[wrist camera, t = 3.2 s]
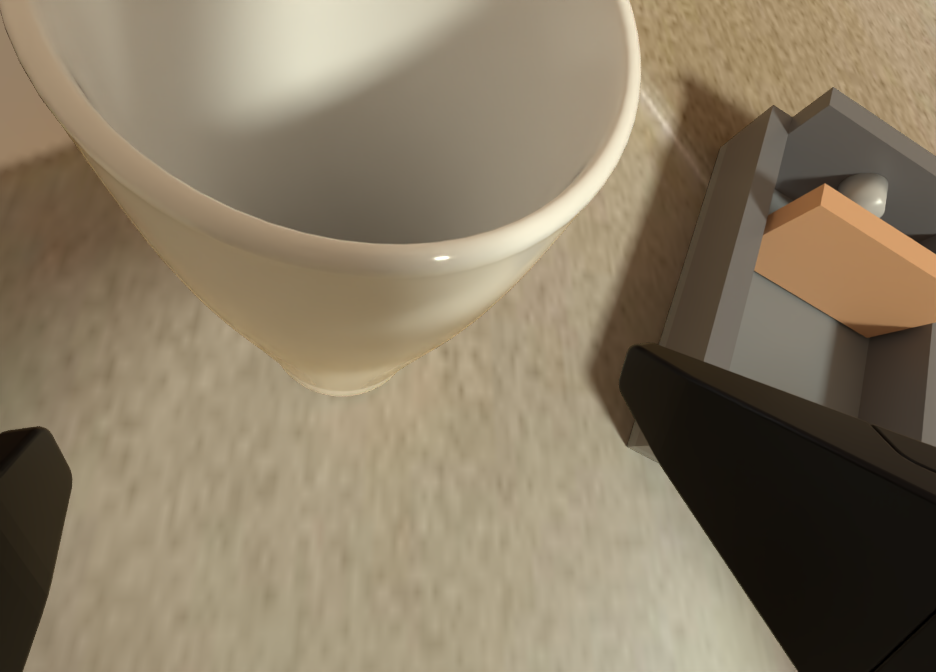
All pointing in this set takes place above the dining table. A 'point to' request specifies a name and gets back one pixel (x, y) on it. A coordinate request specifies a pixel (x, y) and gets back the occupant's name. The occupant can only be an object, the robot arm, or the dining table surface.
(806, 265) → the block
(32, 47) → the drinking glass
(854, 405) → the gray tray
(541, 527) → the dining table surface
